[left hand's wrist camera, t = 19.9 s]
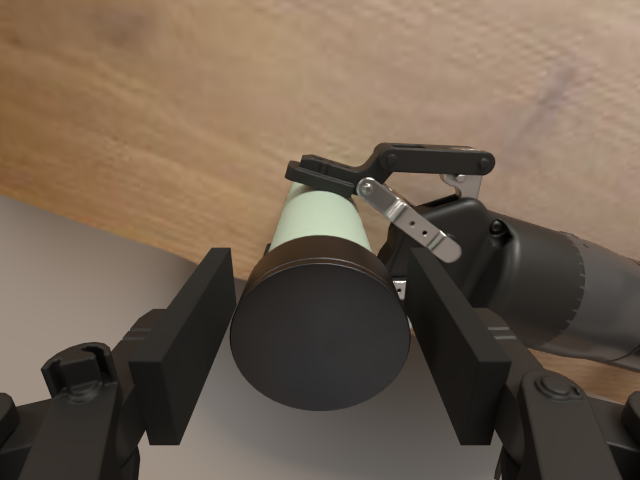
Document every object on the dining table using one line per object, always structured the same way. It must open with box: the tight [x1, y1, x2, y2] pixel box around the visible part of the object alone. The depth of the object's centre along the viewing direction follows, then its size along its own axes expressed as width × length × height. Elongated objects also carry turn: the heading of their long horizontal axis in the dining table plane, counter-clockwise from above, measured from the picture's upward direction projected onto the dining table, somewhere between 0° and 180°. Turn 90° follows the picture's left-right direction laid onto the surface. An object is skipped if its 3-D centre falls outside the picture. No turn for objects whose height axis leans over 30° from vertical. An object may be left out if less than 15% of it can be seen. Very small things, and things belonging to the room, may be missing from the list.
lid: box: [230, 235, 411, 411], centre depth 11 cm, size 6×6×2 cm
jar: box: [269, 182, 372, 252], centre depth 19 cm, size 5×5×16 cm
